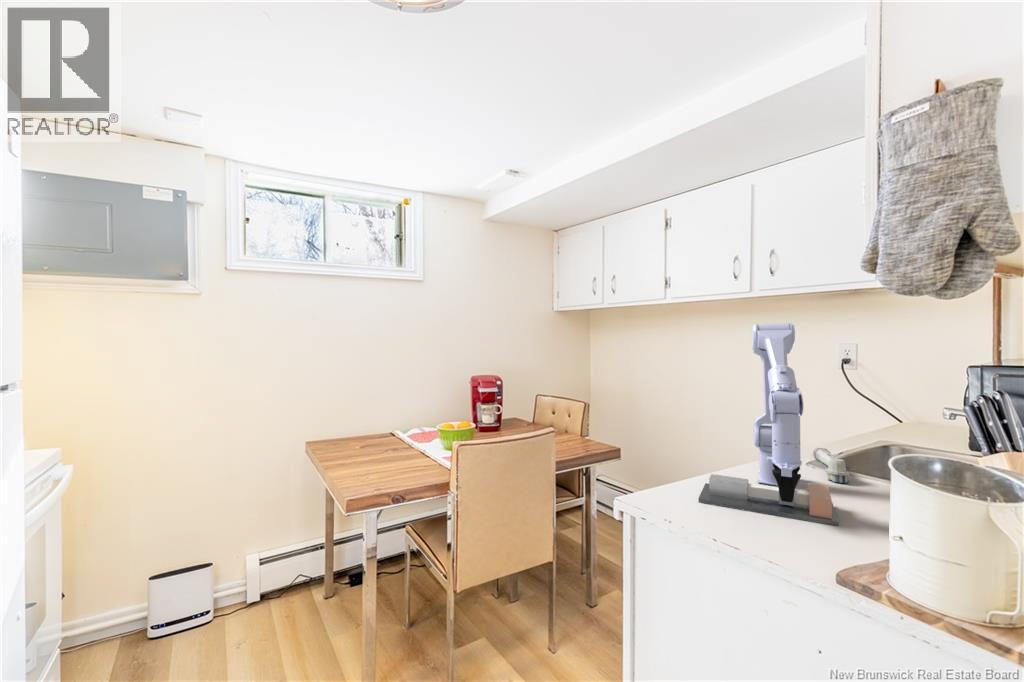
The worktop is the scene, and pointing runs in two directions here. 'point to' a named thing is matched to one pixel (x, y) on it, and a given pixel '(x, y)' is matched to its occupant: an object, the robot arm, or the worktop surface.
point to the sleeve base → (754, 500)
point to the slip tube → (776, 494)
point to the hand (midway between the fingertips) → (786, 497)
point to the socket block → (819, 500)
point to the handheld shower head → (832, 465)
